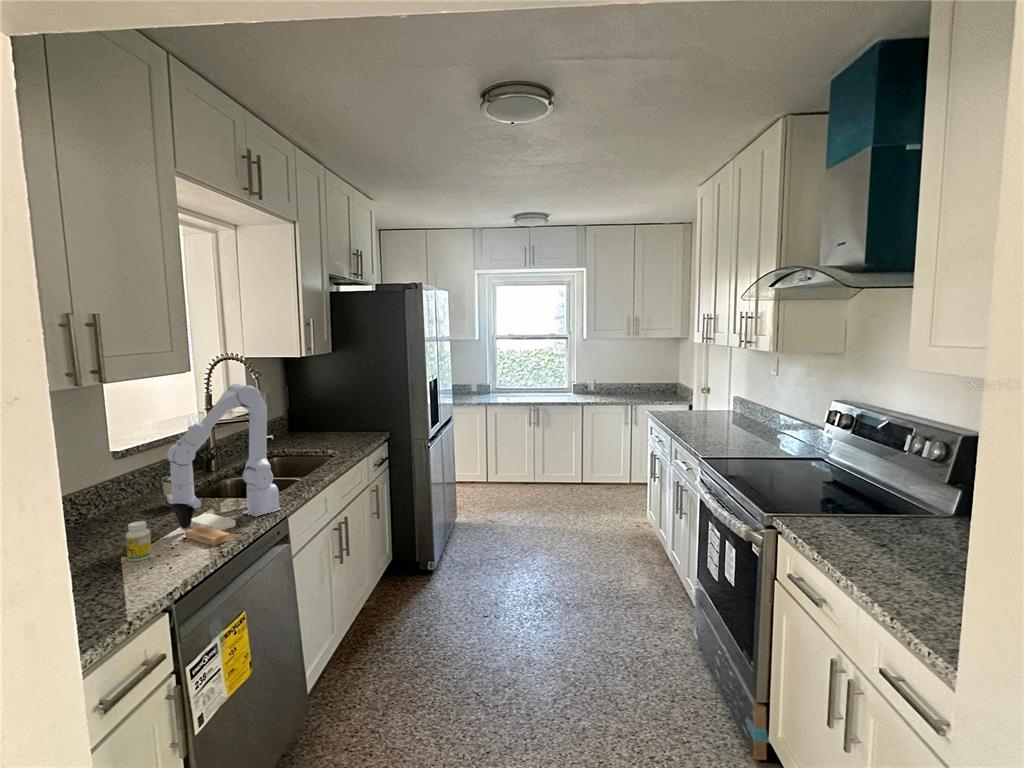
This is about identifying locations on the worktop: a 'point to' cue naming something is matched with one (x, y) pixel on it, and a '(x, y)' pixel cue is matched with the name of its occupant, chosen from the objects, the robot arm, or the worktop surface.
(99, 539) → the worktop surface
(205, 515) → the board
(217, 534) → the tan flat block
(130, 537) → the supplement bottle
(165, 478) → the food container
